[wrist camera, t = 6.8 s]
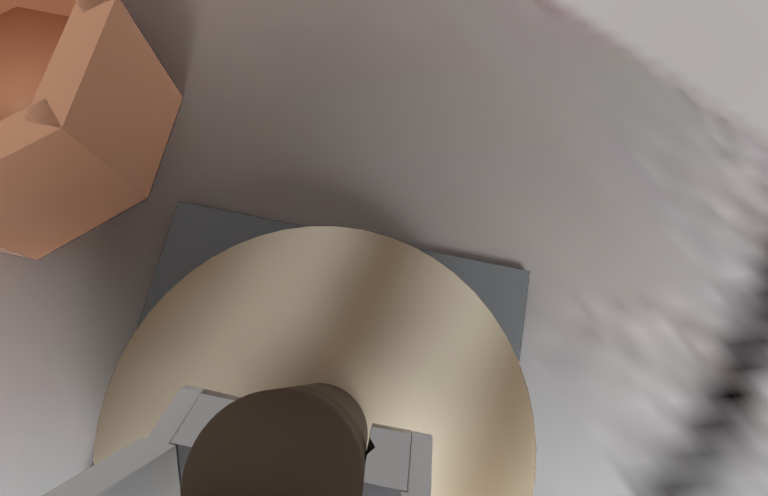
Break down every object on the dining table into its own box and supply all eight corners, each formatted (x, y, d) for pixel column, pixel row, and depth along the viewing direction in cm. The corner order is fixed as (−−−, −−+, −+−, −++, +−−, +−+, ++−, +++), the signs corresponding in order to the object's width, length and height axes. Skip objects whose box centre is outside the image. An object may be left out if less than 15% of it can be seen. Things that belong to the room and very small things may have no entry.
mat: (526, 273, 20) (529, 271, 20) (476, 693, 16) (479, 700, 16) (182, 204, 20) (178, 201, 20) (51, 603, 16) (44, 609, 16)
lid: (546, 272, 18) (680, 193, 10) (498, 725, 14) (649, 1149, 6) (183, 202, 18) (41, 74, 10) (45, 625, 14) (-329, 911, 7)
